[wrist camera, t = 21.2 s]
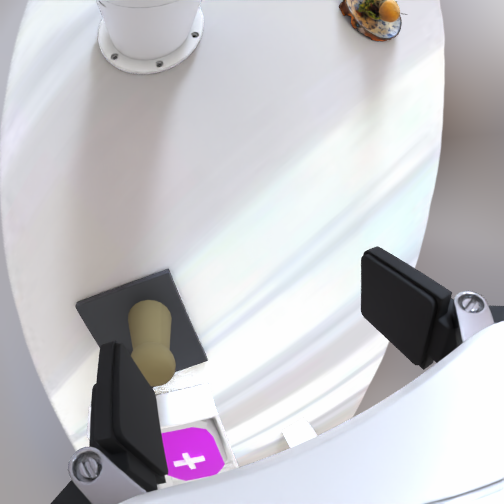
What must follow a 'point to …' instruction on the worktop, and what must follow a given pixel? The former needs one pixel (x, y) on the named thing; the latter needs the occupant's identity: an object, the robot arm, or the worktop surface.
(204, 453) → the white tray with pad
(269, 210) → the worktop surface
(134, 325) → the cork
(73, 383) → the worktop surface
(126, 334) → the scale
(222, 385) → the worktop surface
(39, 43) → the worktop surface
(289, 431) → the milk
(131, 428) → the robot arm
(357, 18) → the multicoloured piece
